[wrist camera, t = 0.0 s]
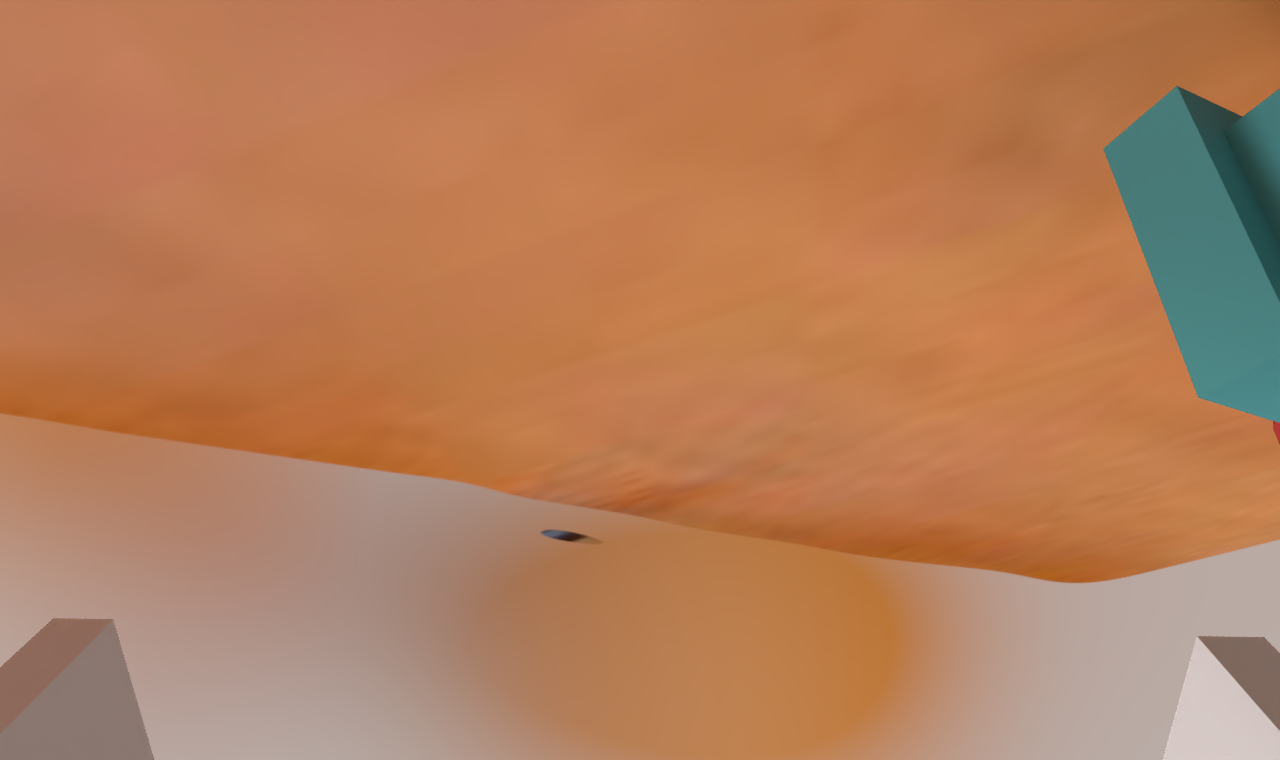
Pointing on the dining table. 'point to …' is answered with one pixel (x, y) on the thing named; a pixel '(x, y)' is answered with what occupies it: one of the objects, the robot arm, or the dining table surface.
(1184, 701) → the robot arm
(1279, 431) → the canned food
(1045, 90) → the dining table surface
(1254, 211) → the teal plunger
